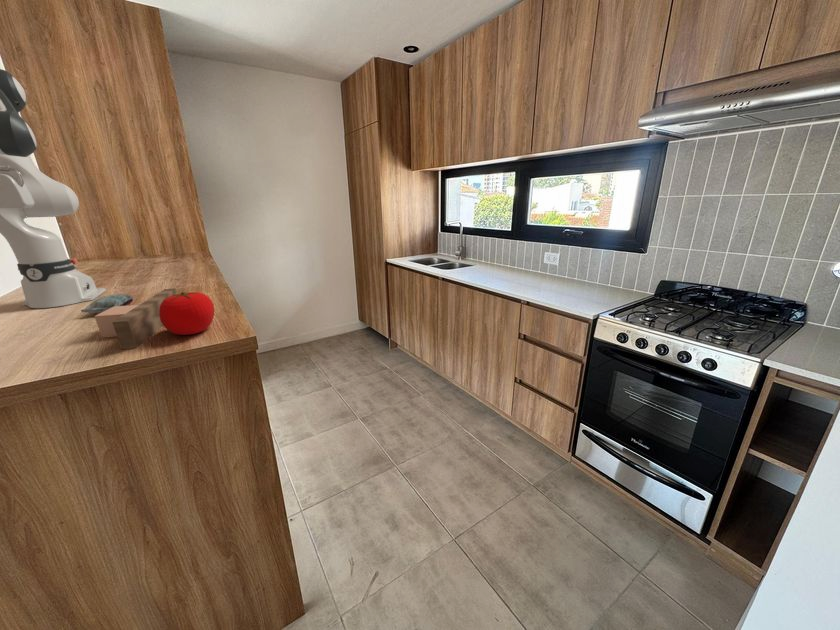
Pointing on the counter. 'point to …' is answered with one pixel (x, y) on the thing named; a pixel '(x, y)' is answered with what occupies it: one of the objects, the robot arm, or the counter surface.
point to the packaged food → (108, 303)
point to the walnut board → (141, 321)
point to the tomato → (186, 313)
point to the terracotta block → (111, 319)
